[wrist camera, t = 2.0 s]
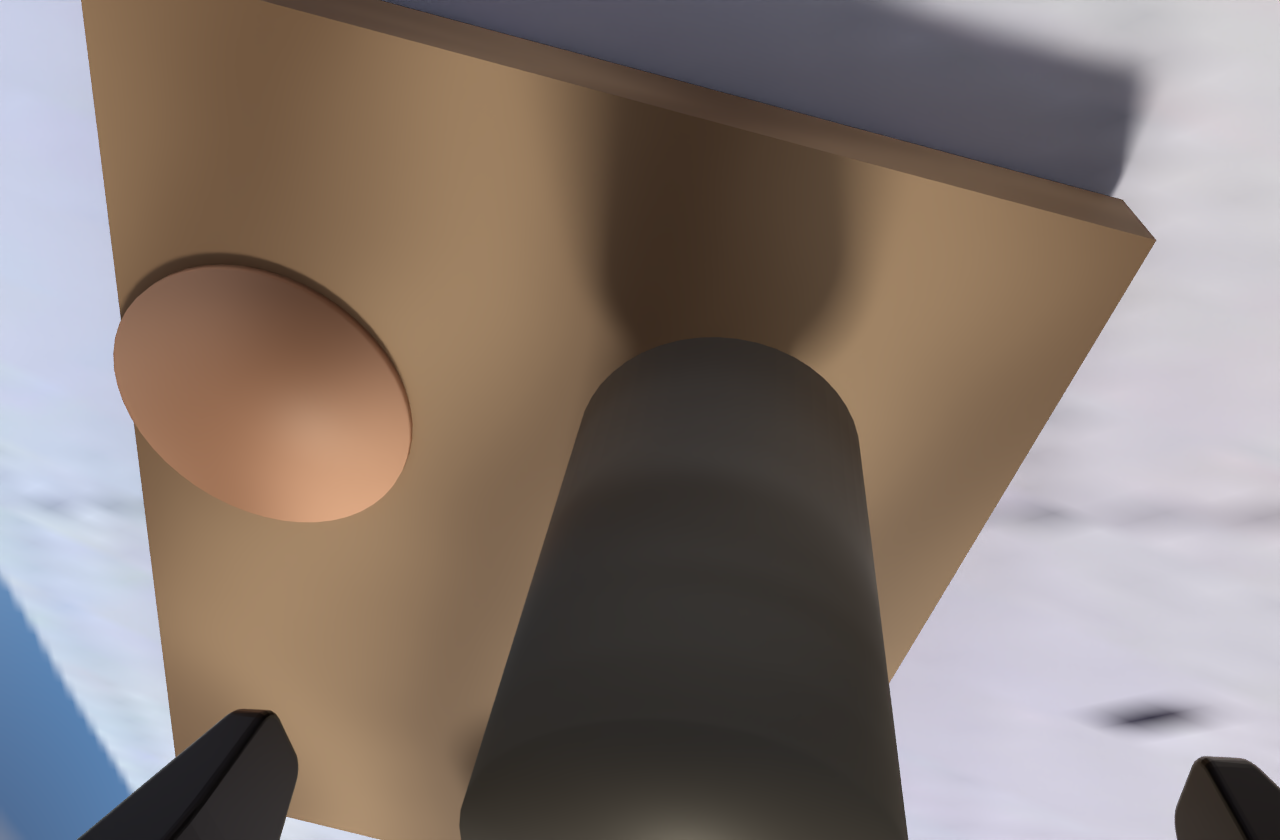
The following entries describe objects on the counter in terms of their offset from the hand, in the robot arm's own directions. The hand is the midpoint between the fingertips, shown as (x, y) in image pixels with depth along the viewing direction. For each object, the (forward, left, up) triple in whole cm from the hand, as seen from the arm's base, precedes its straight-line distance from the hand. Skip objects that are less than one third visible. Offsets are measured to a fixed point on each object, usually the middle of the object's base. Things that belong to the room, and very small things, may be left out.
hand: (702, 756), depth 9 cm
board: (+3, +6, -8) cm, 11 cm away
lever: (0, +7, -7) cm, 10 cm away
